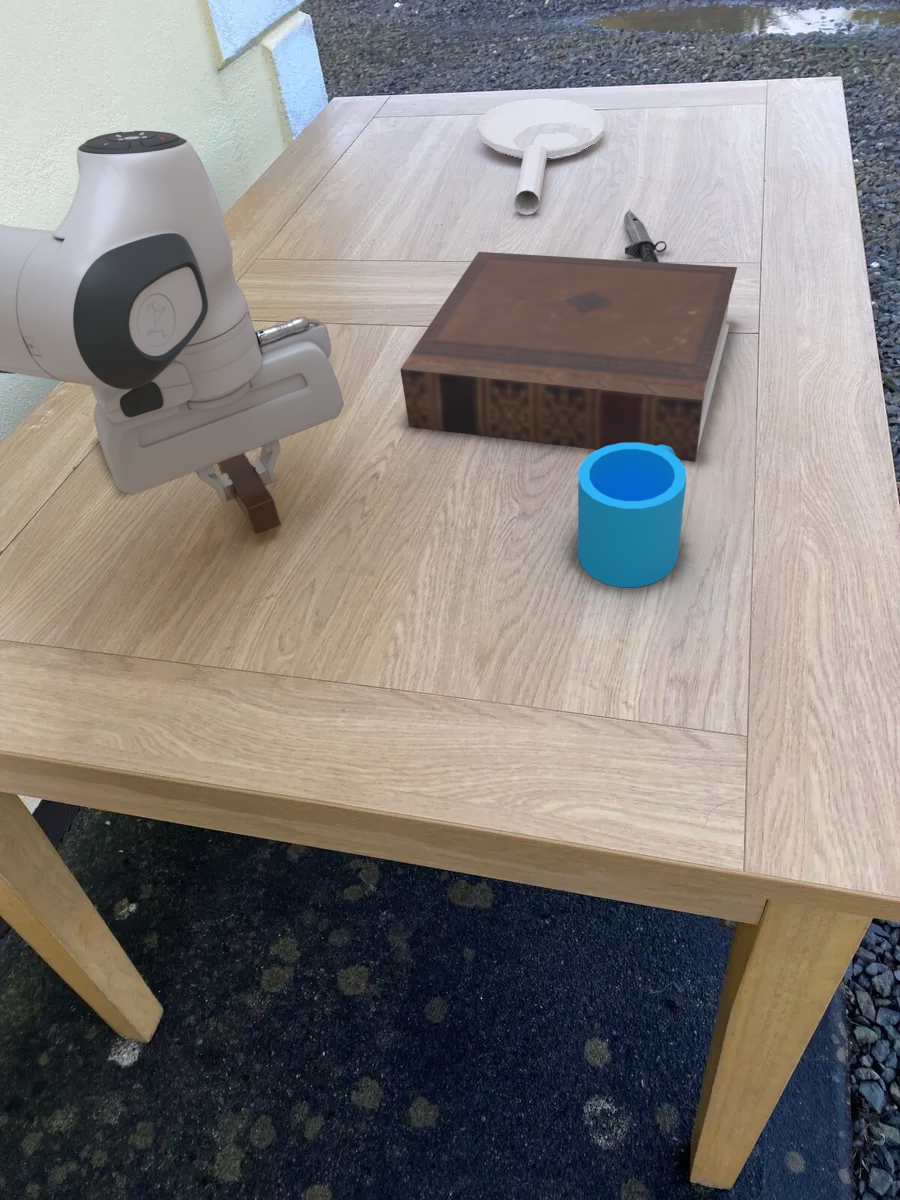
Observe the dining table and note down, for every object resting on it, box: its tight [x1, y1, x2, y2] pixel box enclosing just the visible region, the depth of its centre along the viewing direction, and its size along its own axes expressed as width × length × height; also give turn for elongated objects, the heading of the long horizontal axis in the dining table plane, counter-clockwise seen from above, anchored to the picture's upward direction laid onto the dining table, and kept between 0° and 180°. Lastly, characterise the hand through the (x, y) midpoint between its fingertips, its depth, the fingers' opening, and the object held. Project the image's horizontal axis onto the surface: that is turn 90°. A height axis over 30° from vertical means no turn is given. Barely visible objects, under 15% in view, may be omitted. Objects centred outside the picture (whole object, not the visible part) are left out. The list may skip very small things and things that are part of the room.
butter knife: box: [217, 453, 282, 536], centre depth 85 cm, size 2×20×3 cm, turn 28°
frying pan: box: [476, 98, 605, 216], centre depth 133 cm, size 35×19×5 cm, turn 172°
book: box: [400, 251, 738, 462], centre depth 92 cm, size 24×28×6 cm
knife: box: [623, 209, 668, 263], centre depth 111 cm, size 19×2×5 cm
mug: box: [577, 443, 687, 588], centre depth 73 cm, size 12×8×8 cm
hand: (247, 489), depth 81 cm, fingers closed on butter knife, 2 cm apart
